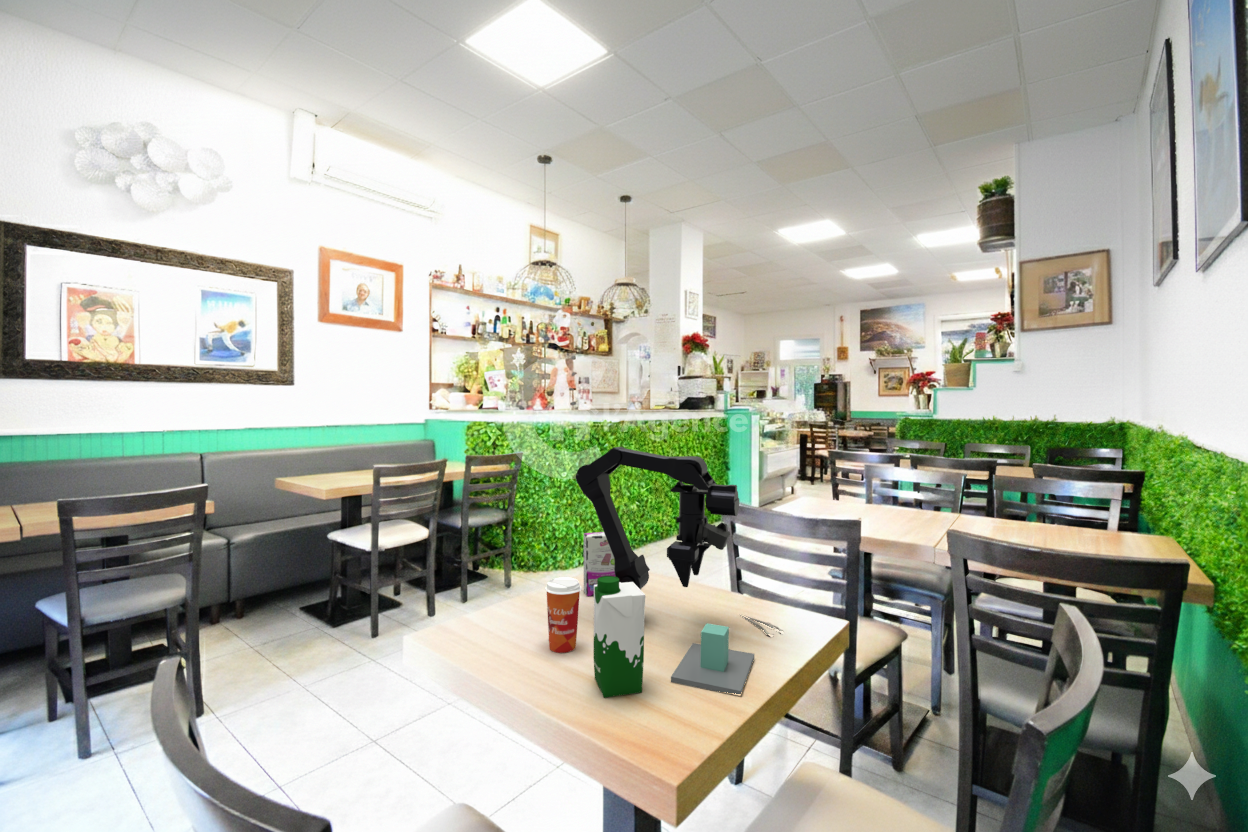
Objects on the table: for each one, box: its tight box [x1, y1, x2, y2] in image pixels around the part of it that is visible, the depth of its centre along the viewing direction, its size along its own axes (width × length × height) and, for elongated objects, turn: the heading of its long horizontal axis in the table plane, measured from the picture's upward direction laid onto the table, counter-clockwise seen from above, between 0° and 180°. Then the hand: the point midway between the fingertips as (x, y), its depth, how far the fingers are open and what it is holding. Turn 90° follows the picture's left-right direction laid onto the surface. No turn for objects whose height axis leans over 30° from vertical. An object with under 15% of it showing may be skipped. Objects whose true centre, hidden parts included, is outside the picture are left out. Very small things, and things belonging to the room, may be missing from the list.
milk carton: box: [593, 576, 646, 699], centre depth 101 cm, size 9×9×20 cm
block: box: [700, 623, 730, 672], centre depth 108 cm, size 4×4×7 cm
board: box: [670, 642, 755, 695], centre depth 108 cm, size 13×16×1 cm
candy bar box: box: [583, 531, 615, 597], centre depth 152 cm, size 11×5×16 cm, turn 105°
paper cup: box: [544, 576, 582, 654], centre depth 117 cm, size 8×8×14 cm
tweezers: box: [739, 614, 784, 636], centre depth 133 cm, size 17×5×2 cm, turn 26°
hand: (690, 580), depth 125 cm, fingers open, 9 cm apart
